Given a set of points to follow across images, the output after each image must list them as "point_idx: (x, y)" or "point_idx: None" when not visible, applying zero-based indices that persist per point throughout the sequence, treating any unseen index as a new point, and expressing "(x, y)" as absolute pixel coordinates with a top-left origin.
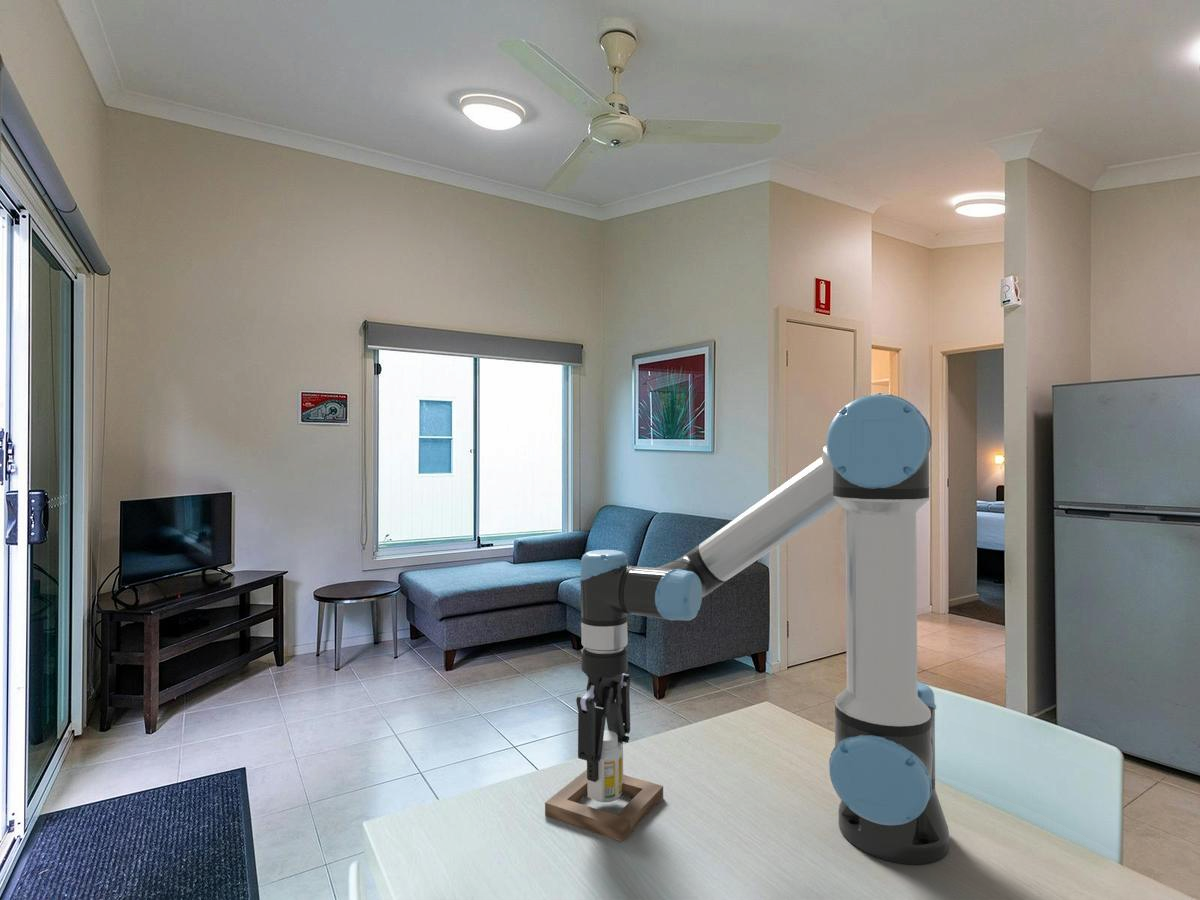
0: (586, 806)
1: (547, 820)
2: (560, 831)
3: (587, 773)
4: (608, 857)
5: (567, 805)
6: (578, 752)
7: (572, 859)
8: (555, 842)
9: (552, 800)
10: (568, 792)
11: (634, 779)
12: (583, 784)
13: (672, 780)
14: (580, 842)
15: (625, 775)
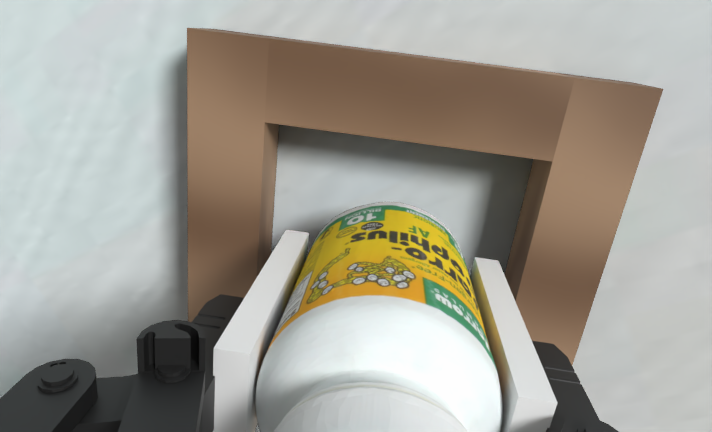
0: (253, 232)
1: (184, 60)
2: (147, 150)
3: (197, 317)
4: (114, 354)
5: (221, 148)
6: (4, 400)
7: (39, 260)
8: (80, 165)
9: (224, 55)
10: (329, 98)
11: (563, 345)
12: (434, 137)
13: (684, 422)
14: (131, 248)
15: (592, 298)
